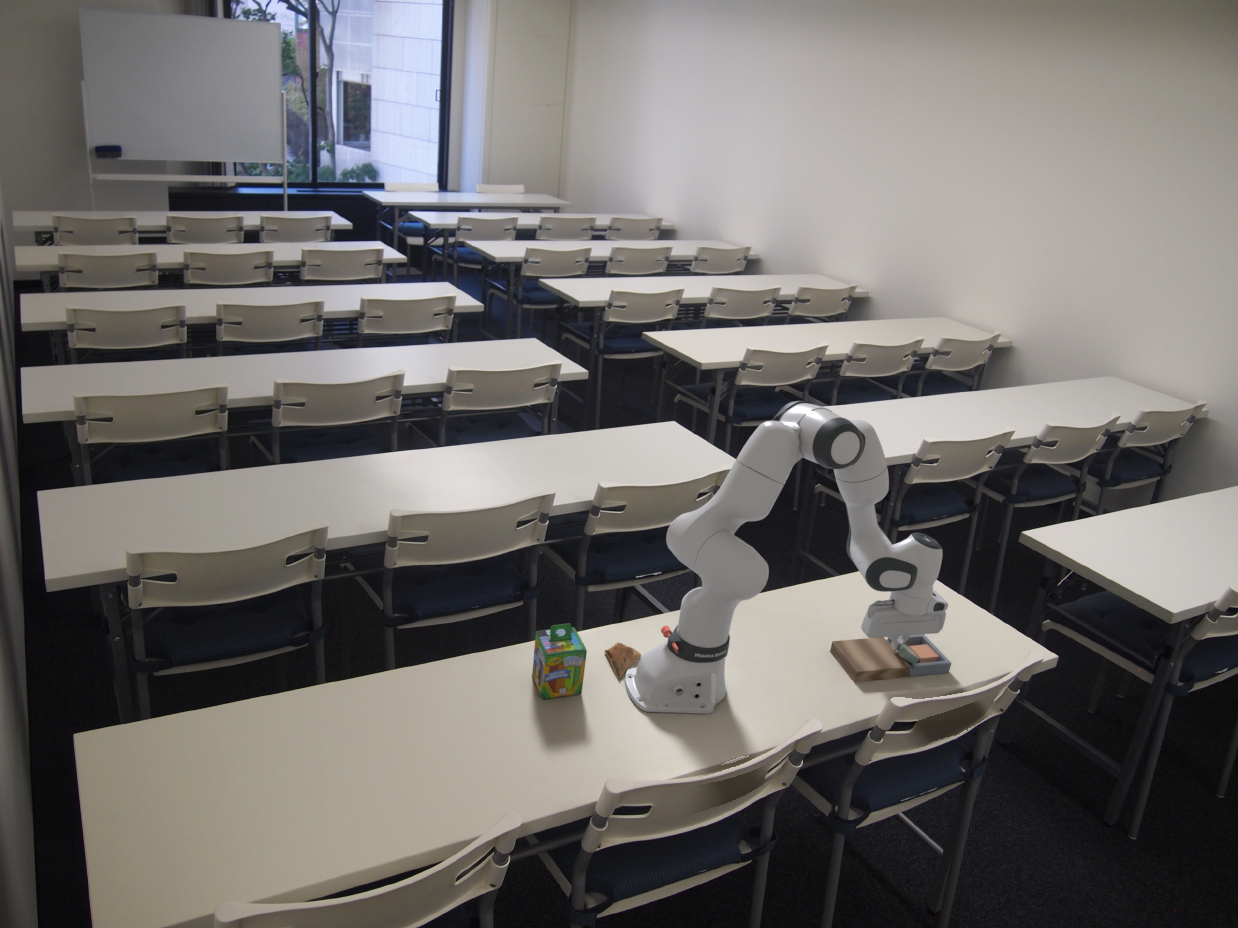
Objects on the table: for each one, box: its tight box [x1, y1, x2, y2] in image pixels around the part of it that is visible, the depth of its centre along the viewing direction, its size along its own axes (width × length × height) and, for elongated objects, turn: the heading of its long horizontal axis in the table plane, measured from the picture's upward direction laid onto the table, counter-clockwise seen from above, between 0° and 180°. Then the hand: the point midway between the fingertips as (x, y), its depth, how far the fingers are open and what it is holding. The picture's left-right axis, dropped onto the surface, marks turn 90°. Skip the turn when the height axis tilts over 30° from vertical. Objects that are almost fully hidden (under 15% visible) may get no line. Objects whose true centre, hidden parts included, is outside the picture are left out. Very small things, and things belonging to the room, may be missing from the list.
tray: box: [886, 634, 952, 678], centre depth 221 cm, size 11×12×3 cm
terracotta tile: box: [909, 644, 939, 663], centre depth 221 cm, size 5×5×2 cm
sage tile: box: [896, 644, 920, 664], centre depth 219 cm, size 5×5×2 cm
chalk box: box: [531, 622, 588, 700], centre depth 196 cm, size 9×9×15 cm
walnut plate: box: [829, 637, 910, 683], centre depth 217 cm, size 14×12×3 cm
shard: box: [604, 642, 642, 680], centre depth 208 cm, size 11×8×2 cm
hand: (895, 648), depth 218 cm, fingers closed
